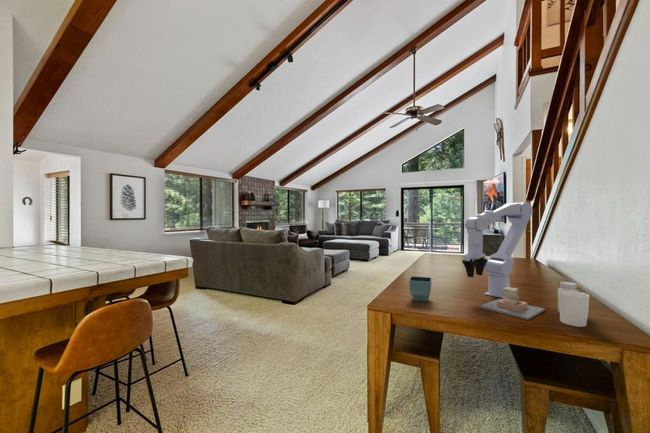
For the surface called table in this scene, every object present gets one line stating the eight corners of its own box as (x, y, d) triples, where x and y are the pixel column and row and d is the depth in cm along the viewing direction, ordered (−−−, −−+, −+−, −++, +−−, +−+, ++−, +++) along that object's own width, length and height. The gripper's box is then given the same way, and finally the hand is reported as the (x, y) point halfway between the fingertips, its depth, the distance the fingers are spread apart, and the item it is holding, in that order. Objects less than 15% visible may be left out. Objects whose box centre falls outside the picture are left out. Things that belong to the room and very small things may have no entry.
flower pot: (408, 301, 120) (408, 280, 120) (410, 296, 128) (410, 275, 128) (431, 304, 117) (431, 282, 117) (431, 298, 125) (431, 277, 125)
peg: (506, 304, 114) (506, 286, 114) (518, 306, 111) (518, 288, 111) (503, 306, 111) (503, 288, 111) (515, 309, 108) (515, 290, 108)
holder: (498, 300, 122) (499, 293, 122) (544, 310, 109) (544, 303, 109) (480, 307, 112) (480, 300, 112) (527, 319, 99) (527, 311, 99)
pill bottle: (583, 316, 103) (583, 285, 103) (563, 315, 104) (563, 284, 104) (572, 310, 109) (572, 281, 109) (553, 309, 110) (554, 280, 110)
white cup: (551, 319, 100) (552, 290, 100) (572, 318, 101) (573, 289, 101) (573, 328, 92) (573, 297, 92) (595, 327, 93) (596, 296, 93)
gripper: (474, 243, 133) (474, 272, 133) (457, 244, 125) (457, 276, 125) (490, 244, 127) (490, 275, 128) (473, 246, 119) (473, 279, 119)
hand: (474, 276), depth 126 cm, fingers open, 7 cm apart
